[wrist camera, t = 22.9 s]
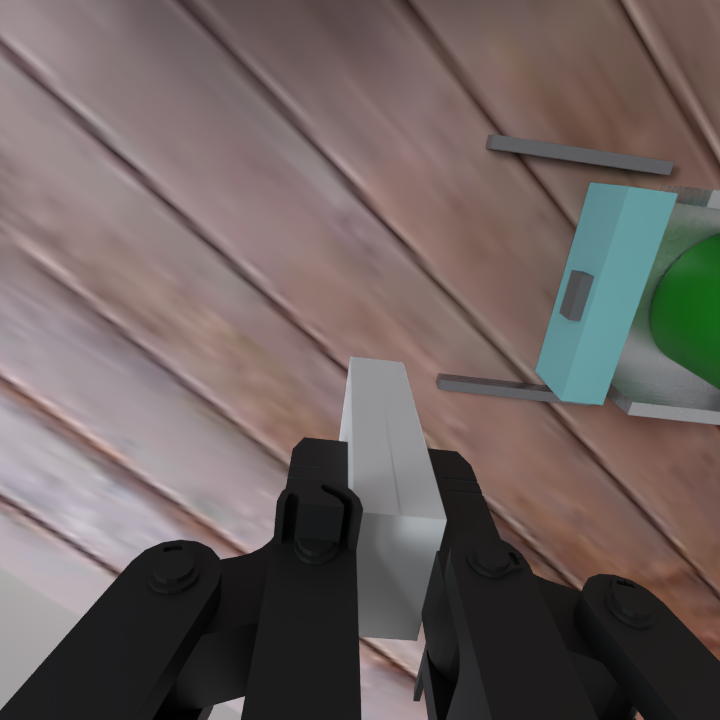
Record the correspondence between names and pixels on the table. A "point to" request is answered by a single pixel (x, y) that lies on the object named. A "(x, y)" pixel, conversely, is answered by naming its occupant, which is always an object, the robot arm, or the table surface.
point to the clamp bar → (602, 288)
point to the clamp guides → (562, 154)
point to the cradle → (640, 352)
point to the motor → (691, 311)
